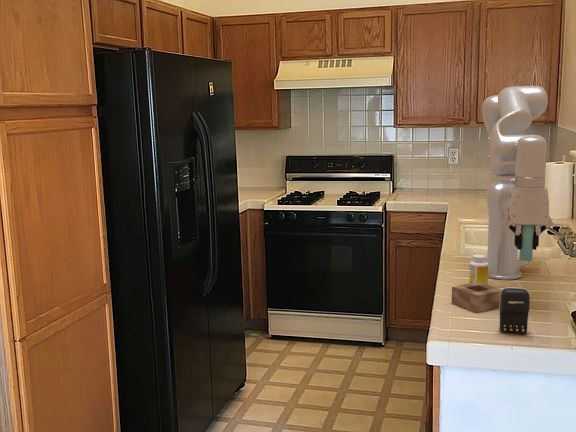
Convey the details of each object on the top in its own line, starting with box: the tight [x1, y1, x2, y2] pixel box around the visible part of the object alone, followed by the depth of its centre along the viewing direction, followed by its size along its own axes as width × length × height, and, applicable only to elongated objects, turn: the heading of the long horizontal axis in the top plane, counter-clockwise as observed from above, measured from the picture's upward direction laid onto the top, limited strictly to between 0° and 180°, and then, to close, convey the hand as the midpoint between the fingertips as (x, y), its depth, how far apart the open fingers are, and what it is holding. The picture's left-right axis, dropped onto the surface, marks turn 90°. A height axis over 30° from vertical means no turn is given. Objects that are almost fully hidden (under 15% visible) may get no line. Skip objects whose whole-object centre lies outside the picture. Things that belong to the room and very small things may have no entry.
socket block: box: [451, 282, 503, 314], centre depth 179 cm, size 10×10×5 cm
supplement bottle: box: [468, 254, 489, 285], centre depth 196 cm, size 6×6×10 cm
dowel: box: [518, 225, 534, 262], centre depth 174 cm, size 3×3×12 cm
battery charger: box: [498, 286, 531, 335], centre depth 157 cm, size 7×4×11 cm, turn 78°
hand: (526, 248), depth 174 cm, fingers closed on dowel, 3 cm apart
